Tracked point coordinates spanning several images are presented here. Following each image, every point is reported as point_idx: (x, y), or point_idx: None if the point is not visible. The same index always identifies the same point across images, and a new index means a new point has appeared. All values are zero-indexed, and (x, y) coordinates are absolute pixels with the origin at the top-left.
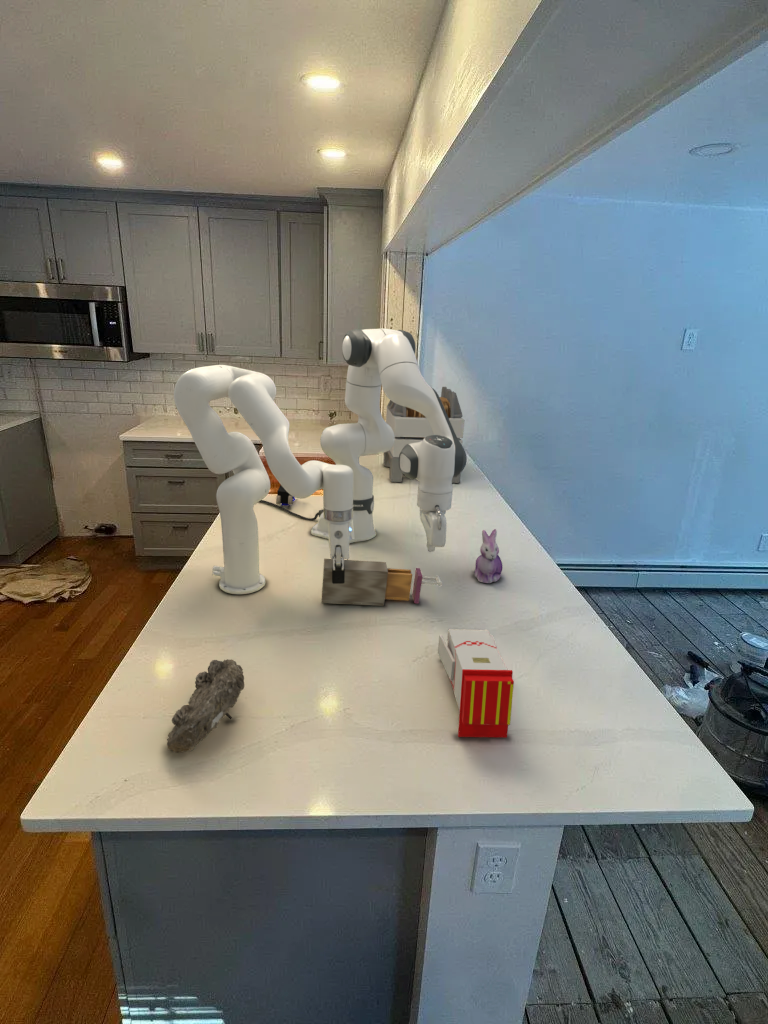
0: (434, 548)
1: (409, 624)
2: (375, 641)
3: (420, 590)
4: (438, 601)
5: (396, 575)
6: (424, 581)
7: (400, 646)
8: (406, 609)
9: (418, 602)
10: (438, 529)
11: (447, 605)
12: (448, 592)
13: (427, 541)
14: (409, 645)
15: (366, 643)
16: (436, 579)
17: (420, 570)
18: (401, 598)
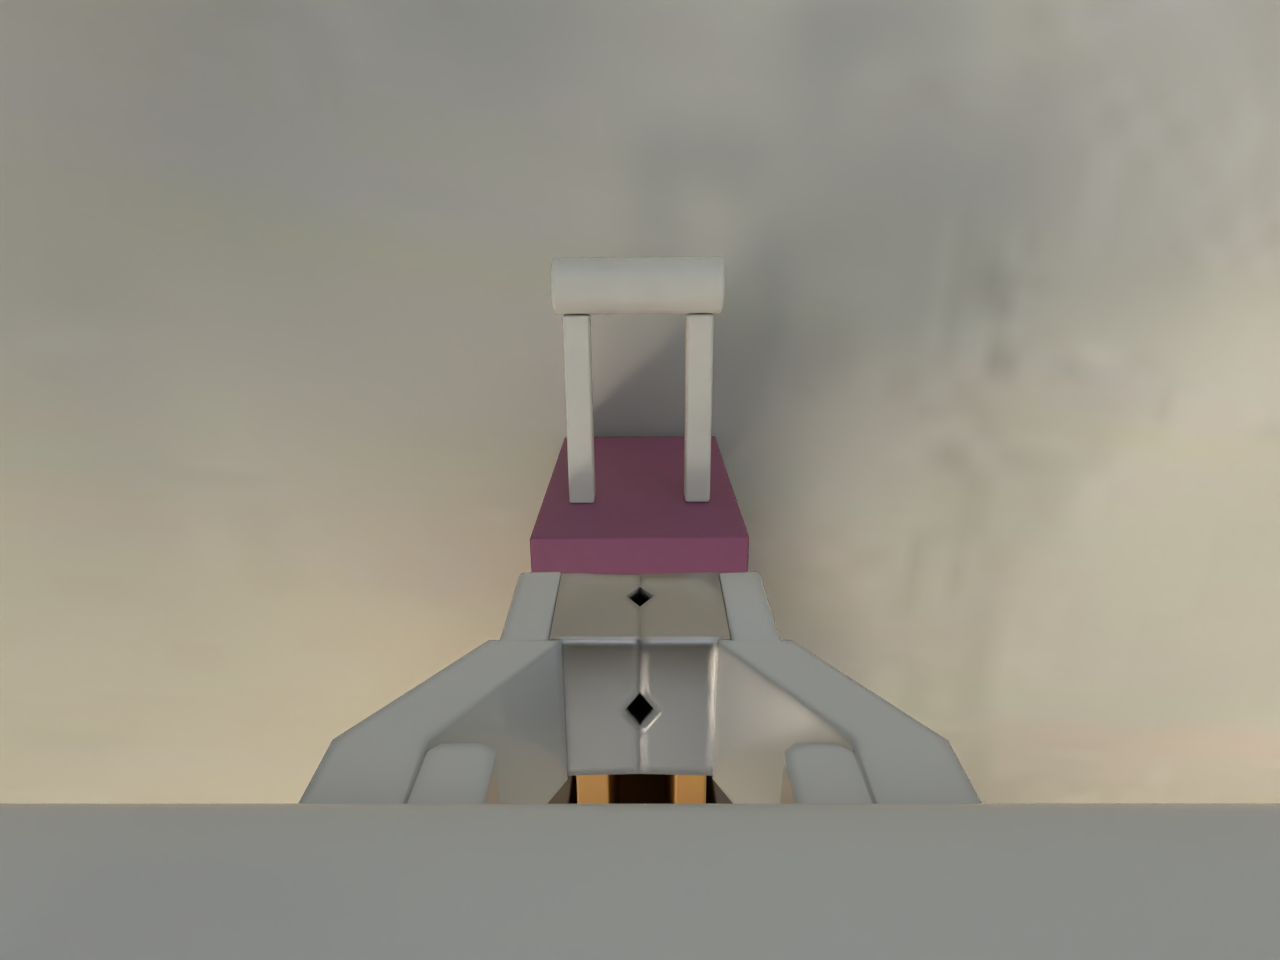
0: (766, 606)
1: (1007, 536)
2: (1164, 751)
3: (727, 474)
4: (659, 246)
5: (705, 777)
6: (696, 466)
7: (1267, 621)
8: (784, 533)
9: (714, 441)
10: (512, 857)
11: (738, 170)
12: (472, 105)
13: (560, 777)
14: (1274, 566)
15: (1172, 796)
16: (623, 313)
17: (598, 540)
18: None
